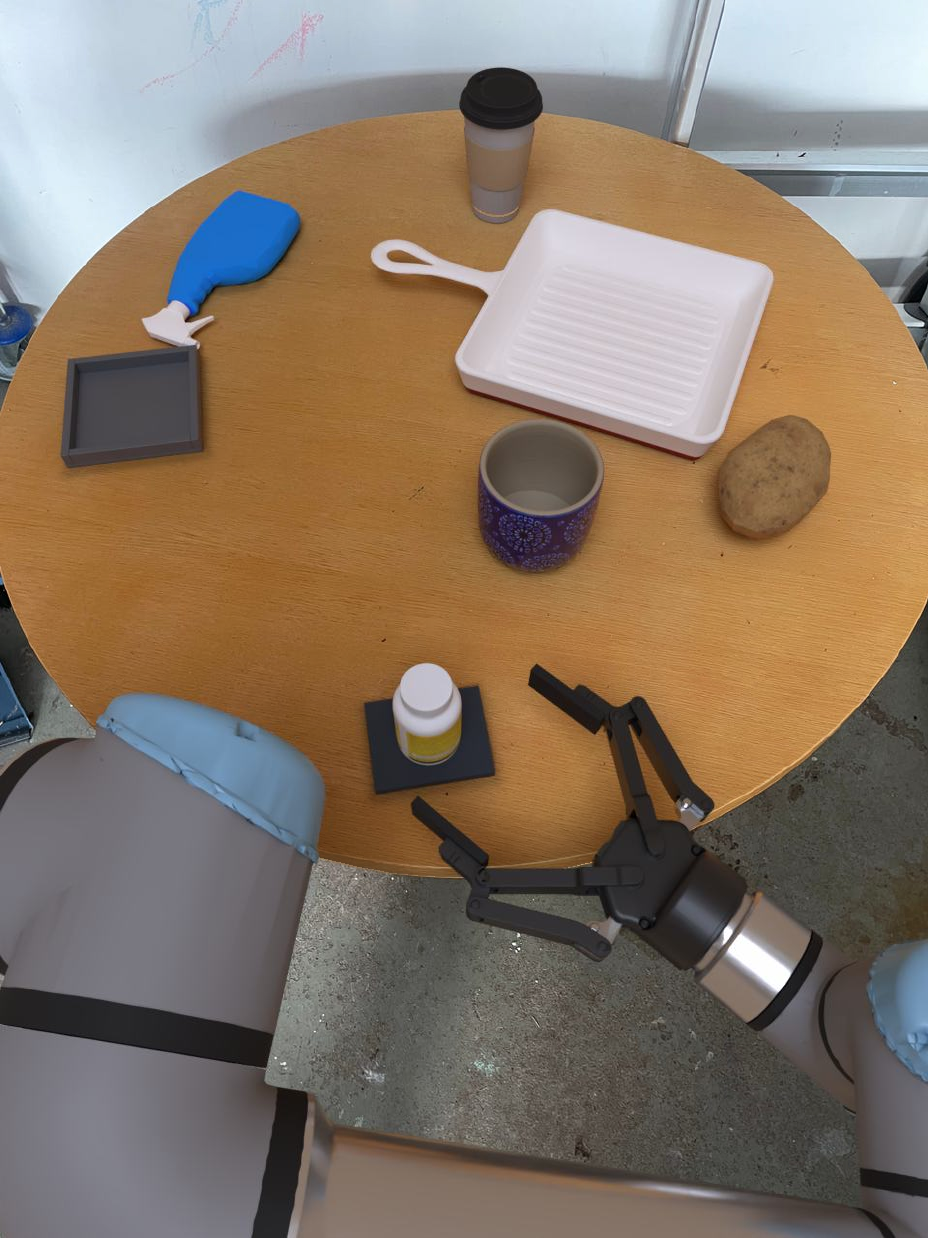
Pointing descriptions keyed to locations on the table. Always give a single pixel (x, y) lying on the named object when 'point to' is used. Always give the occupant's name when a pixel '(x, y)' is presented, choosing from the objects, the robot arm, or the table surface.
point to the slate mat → (405, 774)
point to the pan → (609, 329)
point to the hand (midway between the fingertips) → (475, 736)
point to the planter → (538, 493)
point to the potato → (774, 477)
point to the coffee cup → (499, 138)
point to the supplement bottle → (427, 714)
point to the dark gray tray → (132, 406)
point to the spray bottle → (224, 259)
